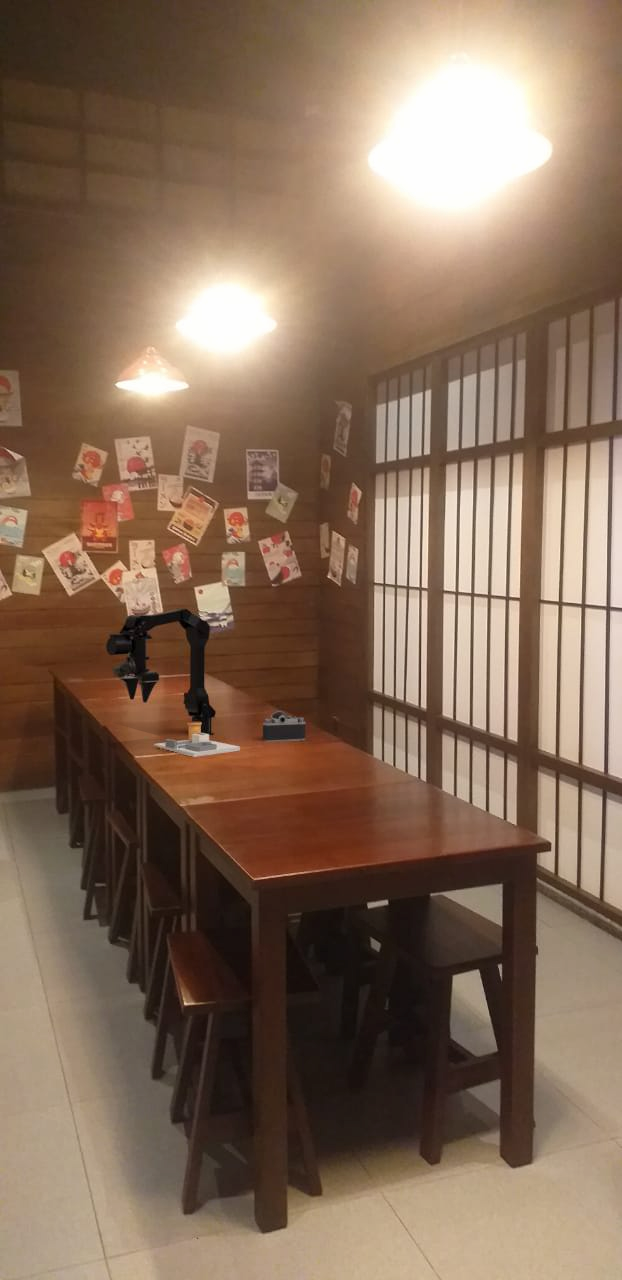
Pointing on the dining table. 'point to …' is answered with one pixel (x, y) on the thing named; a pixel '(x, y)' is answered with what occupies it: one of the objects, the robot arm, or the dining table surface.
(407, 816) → the dining table surface
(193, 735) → the block
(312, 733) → the dining table surface
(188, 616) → the robot arm
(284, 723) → the camera
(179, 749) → the board
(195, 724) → the cap
